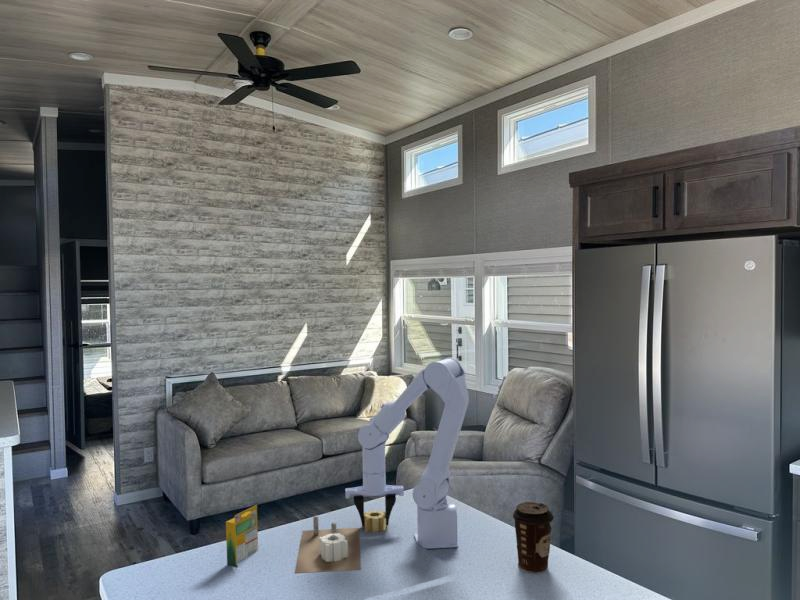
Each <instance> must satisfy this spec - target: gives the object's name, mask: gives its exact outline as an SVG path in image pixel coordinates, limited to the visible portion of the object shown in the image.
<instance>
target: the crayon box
mask: <svg viewBox="0 0 800 600" xmlns="http://www.w3.org/2000/svg"><path fill="white" fill-rule="evenodd" d="M258 533H259V532H258V504H255V505H253V506H251V507H249V508H247V509H245V510H243V511H241V512H239V513H237V514H235V515H234V517H233V518H231V519H229V520H227V521H225V535H226V536H225V537H226V540H225V541H226V565H227V566H229V567H233V568H238V563H239V562H241V561H242V560H244V559H246V558H248V557H250V556H251V555H253V554H254V553H256V552H258V551H259V534H258Z"/></svg>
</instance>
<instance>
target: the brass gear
mask: <svg viewBox="0 0 800 600" xmlns="http://www.w3.org/2000/svg"><path fill="white" fill-rule="evenodd" d="M364 519H365V527H364V532H366V533H368V532H375V533H376V532H379V531H380V532H386V531H387V526H386V518H385V511H383V510H382V511H381V510H371V511H364Z"/></svg>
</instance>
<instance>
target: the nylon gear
mask: <svg viewBox="0 0 800 600" xmlns="http://www.w3.org/2000/svg"><path fill="white" fill-rule="evenodd" d="M331 535H336V540H334V541H331V540H330V536H331ZM319 554H321V557H322V559H323V560H325V561H326V562H330V561H331V562H332V561H338V560H341V559H343V558H347V556H348V540H345V537H344V536H343V535H341V534H340V533H337V534H336V533H334V534H327V535H326V536H323V537H320V538H319Z"/></svg>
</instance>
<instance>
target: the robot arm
mask: <svg viewBox="0 0 800 600" xmlns="http://www.w3.org/2000/svg"><path fill="white" fill-rule="evenodd" d="M404 389H405V390H403V392H402V393H401V394H400V395H399V397H397V399H396V400H395V401H393V400H392V401H388V402H383V403H382V404H381V405H380V408H381V409H380V410H379V411H378V412H377V414H375V416H372V417H370V418H369V423H368V424H364V425H362V426H360V429H359V431H358V432H357V433H358V434H357V440H358V443H359V444H360V445H361V447H362V448H361V449H362V453H361V454H362V485H361V486H356V487H347V488H345V489H344V490H345V493H344V494H345V499H347V500H348V499H350V498H353V504H354V507H356V510H357V512H358V514H359V517H360V521H361V527H362V528H365V519H364V513H365V503H364V498H365V497H366V498H367V497H384V505H385V511H384V512H385V518H386V527H388V526H389V522H390V517H391V512H392V511H393V508H394V506H395V504H396V502H397V501H396V500H397V497H396V496H399V497H403V496H404V495H405V494H404V485H389V484H387V482H386V481H387V480H386V479H387V475H386V473H387V472H386V443H387V441H388V439H389V438H390V434H392V433H393V431H394V430H395V429H397V427H399V425H400V424H401V423H402V422H403V421H404V420H405V419H406V410H407V409H408V408H409V407H410V406H412V405H413V403H414V402H416V400H417V399H419V397H420V396H421V395H423V393H425V391H427V390H431V389H432V390H433V391H434V392H435V393H436V394H437V395H439V397H440V398H441V400H442V401H443V403H444V407H443V410H442V414H441V418H440V422H439V425H438V428H437V432H436V436H435V438H434V441H433V444H432V445H433V446H432V449H431V451H430V456H429V460H428V463H427V465H426V467H425V469H424V471H423V472H422V474H421V476H420V479H419V480H418V482H417V484H416V485H415V486H414V487H413V490H412V499H413V501H414V503H415V505H416V506H417V508H416V509H417V512H416V513H417V532H415V533H414V540H415V542H417V543H418V544H419V545H421V546H422V547H423V548H424V549H426V550H428V549H429V550H430V549H446V548H447V549H448V548H458V547H459V544H458V541H459V540H458V515H457V514H458V513H457V507H456V504H455V503H448V500H447V495H449V493H450V492H451V489H452V488H451V487H452V486H451V479H450V478H451V475H452V472H451V470H450V468H451V463H452V460H453V457H454V453H455V450H456V446H457V443H458V440H459V436H460V433H461V430H462V427H463V424H464V421H465V416H466V413H467V410H468V406H469V404H470V403H469V401H470V397H469V396H470V395H469V392H468V387H467V382H466V371H465V369H464V367H463V366H462V365H461V363H460V362H459V361H458V360H457V359H455V358H454V357H445V358H443V359H441V360H438V361H432V362H430V363H428V364H427V365H426V367H425V368H423V369H422V370H420V372H418V373H417V375H416V376H415V377H414V378H413V380H411V382H410V384H408V385H407V387H405V388H404Z"/></svg>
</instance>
